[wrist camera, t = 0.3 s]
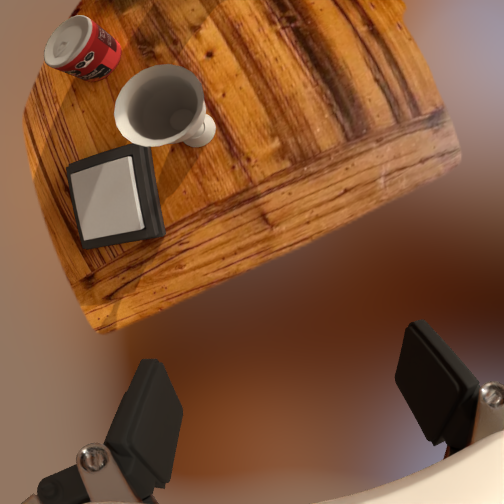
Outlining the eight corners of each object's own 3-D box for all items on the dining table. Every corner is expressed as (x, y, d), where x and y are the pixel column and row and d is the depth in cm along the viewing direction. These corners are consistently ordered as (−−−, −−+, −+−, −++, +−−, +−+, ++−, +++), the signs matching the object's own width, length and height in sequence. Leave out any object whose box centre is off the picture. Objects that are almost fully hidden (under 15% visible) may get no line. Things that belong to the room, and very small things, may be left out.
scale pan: (76, 173, 33) (70, 174, 32) (132, 156, 33) (127, 156, 32) (89, 237, 36) (84, 240, 35) (145, 226, 36) (141, 229, 35)
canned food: (76, 82, 31) (35, 68, 20) (92, 40, 28) (58, 18, 18) (112, 84, 31) (74, 65, 21) (130, 39, 29) (99, 11, 19)
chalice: (173, 156, 36) (116, 154, 19) (170, 110, 34) (114, 76, 16) (225, 150, 36) (206, 139, 19) (222, 103, 34) (202, 57, 16)
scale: (73, 163, 35) (62, 164, 32) (149, 140, 35) (142, 138, 32) (90, 247, 39) (81, 253, 37) (166, 233, 39) (160, 239, 36)
